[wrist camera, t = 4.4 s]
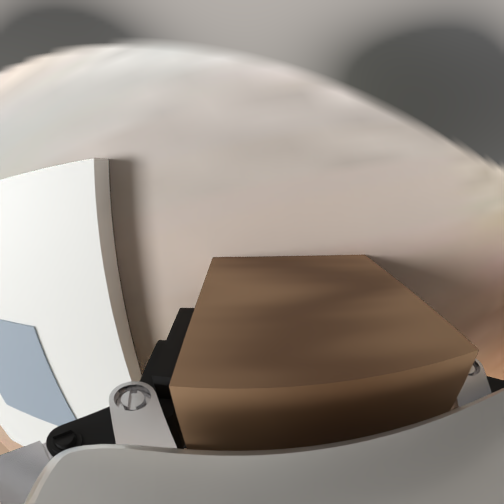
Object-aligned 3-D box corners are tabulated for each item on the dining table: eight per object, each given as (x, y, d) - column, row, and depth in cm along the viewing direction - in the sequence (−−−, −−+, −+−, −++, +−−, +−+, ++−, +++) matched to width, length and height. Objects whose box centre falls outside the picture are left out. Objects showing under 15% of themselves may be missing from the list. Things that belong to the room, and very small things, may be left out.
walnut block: (364, 254, 11) (479, 349, 4) (345, 371, 12) (395, 487, 6) (213, 257, 11) (168, 386, 4) (221, 378, 12) (210, 511, 6)
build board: (108, 158, 9) (92, 158, 8) (182, 482, 15) (180, 494, 14) (-69, 206, 9) (-80, 210, 8) (16, 432, 15) (11, 440, 14)
